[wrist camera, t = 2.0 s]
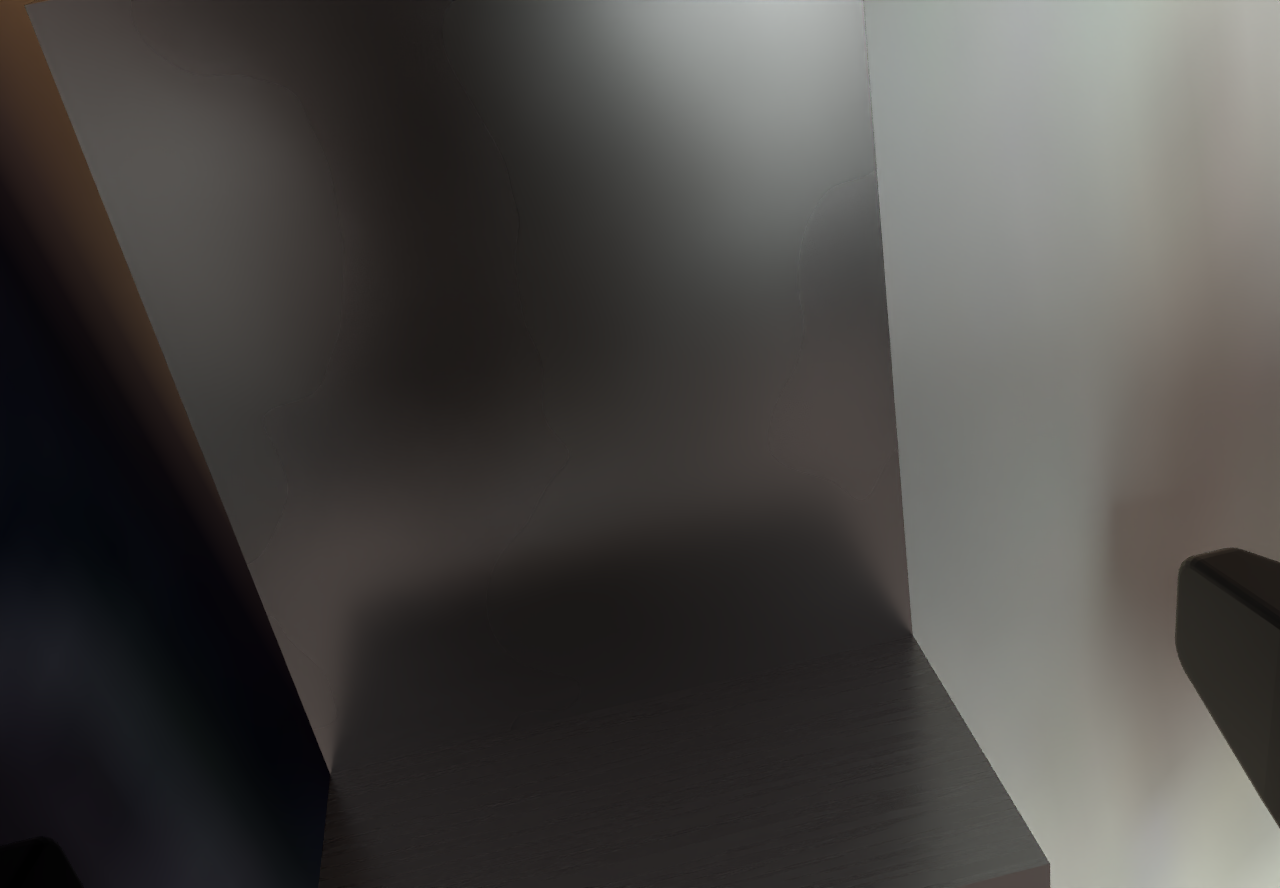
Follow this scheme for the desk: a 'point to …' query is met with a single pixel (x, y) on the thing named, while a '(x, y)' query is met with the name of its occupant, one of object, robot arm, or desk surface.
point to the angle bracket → (551, 426)
